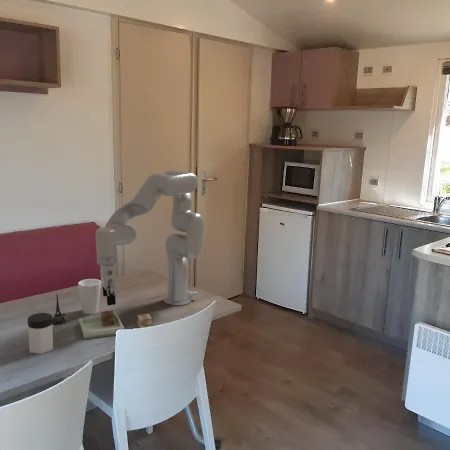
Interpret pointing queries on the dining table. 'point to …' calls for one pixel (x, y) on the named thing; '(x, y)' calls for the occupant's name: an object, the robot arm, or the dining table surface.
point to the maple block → (144, 320)
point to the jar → (40, 333)
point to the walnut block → (107, 318)
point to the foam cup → (89, 295)
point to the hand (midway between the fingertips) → (109, 300)
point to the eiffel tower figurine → (58, 316)
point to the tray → (98, 327)
